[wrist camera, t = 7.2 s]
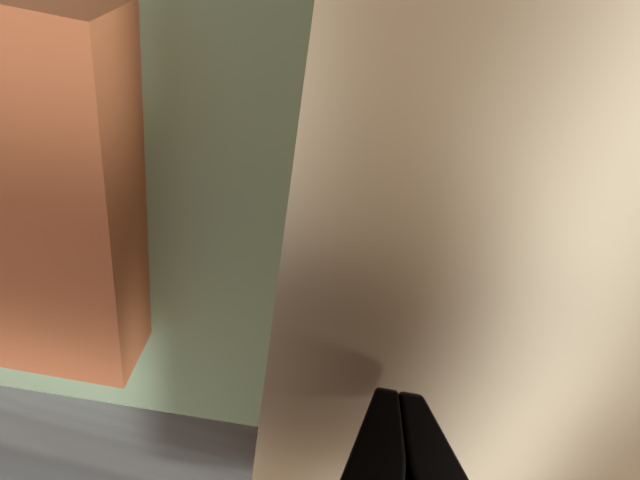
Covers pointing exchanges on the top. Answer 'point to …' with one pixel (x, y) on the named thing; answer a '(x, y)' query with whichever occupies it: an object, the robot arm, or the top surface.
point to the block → (72, 190)
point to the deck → (463, 237)
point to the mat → (210, 202)
